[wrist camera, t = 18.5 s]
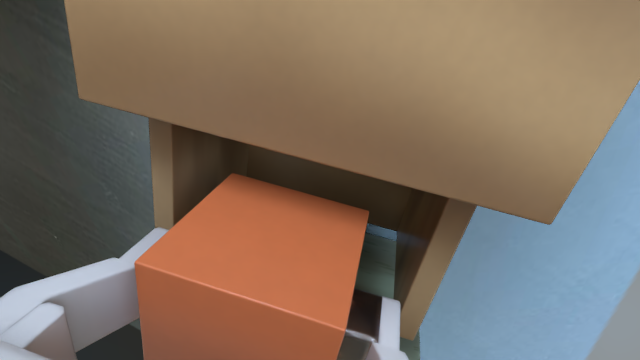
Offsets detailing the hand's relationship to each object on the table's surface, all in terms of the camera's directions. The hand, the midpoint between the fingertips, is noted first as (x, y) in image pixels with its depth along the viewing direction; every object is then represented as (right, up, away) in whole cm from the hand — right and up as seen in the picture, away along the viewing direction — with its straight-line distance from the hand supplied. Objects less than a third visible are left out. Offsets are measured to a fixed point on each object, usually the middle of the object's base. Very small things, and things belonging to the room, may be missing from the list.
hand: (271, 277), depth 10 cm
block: (0, +1, +1) cm, 2 cm away
